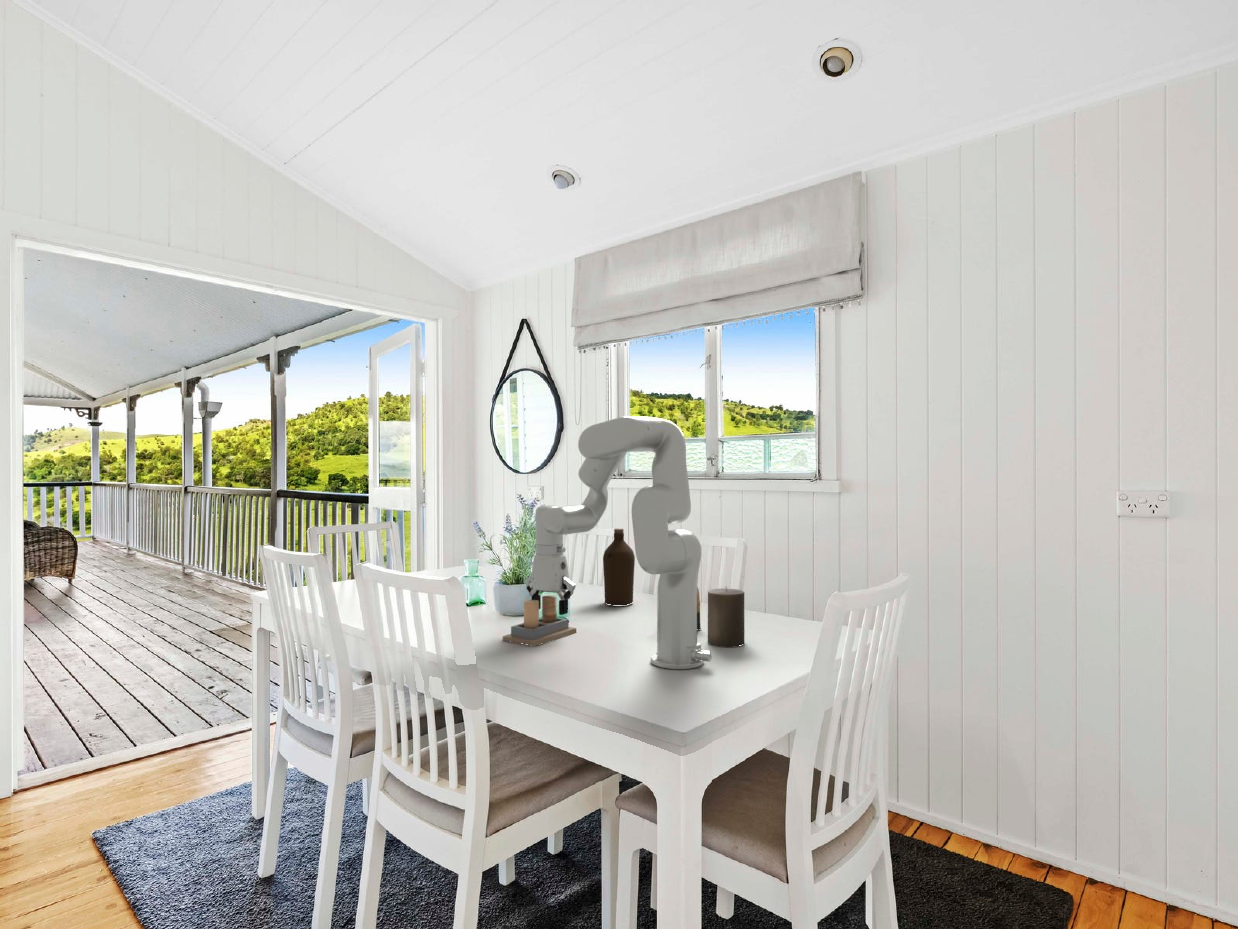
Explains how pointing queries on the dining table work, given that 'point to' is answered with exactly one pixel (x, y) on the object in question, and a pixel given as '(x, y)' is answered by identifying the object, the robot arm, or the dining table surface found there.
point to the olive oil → (618, 571)
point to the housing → (537, 627)
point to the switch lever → (549, 609)
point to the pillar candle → (726, 617)
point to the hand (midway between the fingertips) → (549, 612)
